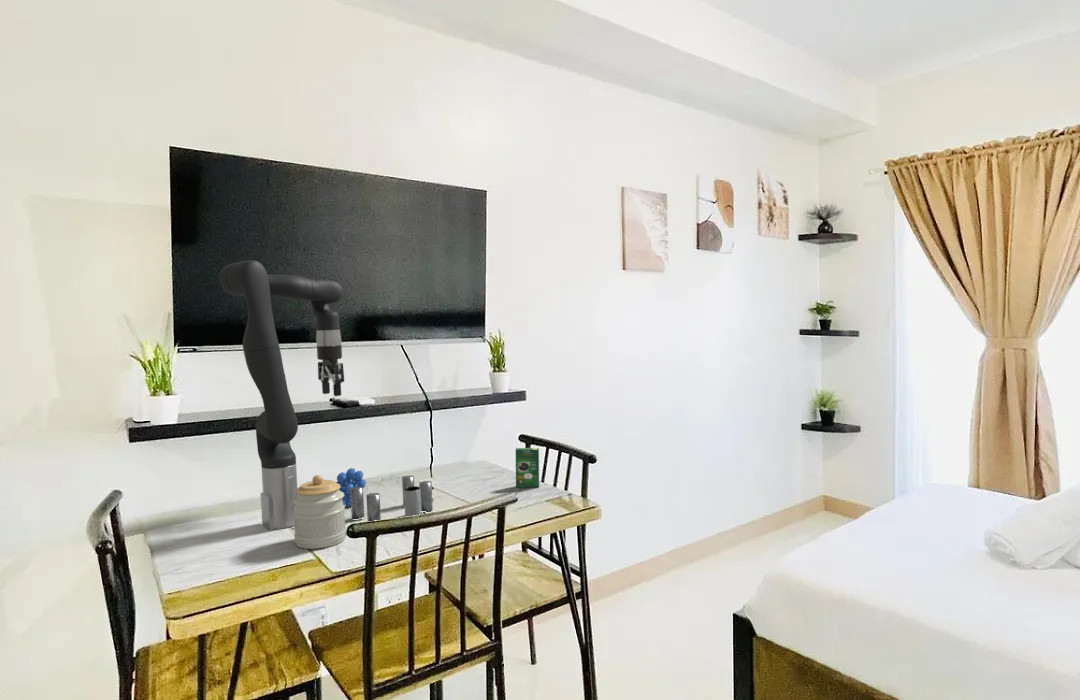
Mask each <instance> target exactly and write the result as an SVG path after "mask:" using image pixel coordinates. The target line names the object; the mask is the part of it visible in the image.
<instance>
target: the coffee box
mask: <svg viewBox="0 0 1080 700" xmlns="http://www.w3.org/2000/svg"><path fill="white" fill-rule="evenodd" d="M539 449H540V448H539V447H516V448H515V488H520V489H521V488H522V489H523V488H533V489H534V488H540V450H539Z"/></svg>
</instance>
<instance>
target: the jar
mask: <svg viewBox="0 0 1080 700" xmlns="http://www.w3.org/2000/svg"><path fill="white" fill-rule="evenodd" d="M335 482H336V481H334V480H332V479H324V478H323V476H322V475H320V474H316V475H313V477H312V480H311V481H307V482H304V483H302V484H301V485H300V486H298V487H297V489H296V490H295V492H296V494H297V496H296V497H294V498H293V500H292V502H293V503H294V504H295V510H294V512H293V515H294V542H295V545H296V547H298V548H300V549H307V550H317V549H324V548H328V547H333V546H335V545H338V544H341V543H342V542H343V541H344V540H345V539H346V535H347V528H346V527H347V526H346V517H345V513H346V512H345V508H346V505H345V506H344V504H343V501H342V498H343V497H344V493H343V492H342V491H340V490H339V489H340V487H341V486H340V484H338V483H335Z"/></svg>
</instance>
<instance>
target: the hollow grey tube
mask: <svg viewBox="0 0 1080 700" xmlns="http://www.w3.org/2000/svg"><path fill="white" fill-rule="evenodd" d="M404 501H405V507H404V517H405V516H412V515H419V514H422V512H421V489H420V487H419V486H417V485H416V486H415V485H414V486H412V487H407V488H405V489H404ZM422 515H423V514H422Z"/></svg>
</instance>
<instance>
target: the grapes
mask: <svg viewBox="0 0 1080 700" xmlns="http://www.w3.org/2000/svg"><path fill="white" fill-rule="evenodd" d="M363 477H364V472H363V471H362V470H356V469H355V468H353V467H351V468H350V467H349V468H348V469H347V471H346V472H339V473H338V474H337V476H336V480H337V481H334V482H335V483H338V484H340V486H341V487H340V489H339V490H340V491H342V492H343V493H344V497H343V498H342V501H343V504H344V506H345V507H347V506H351V495H350V489H351V488H353V487H363V489H364V488H365V487H366V485H367V481H366V479H364V478H363Z"/></svg>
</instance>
